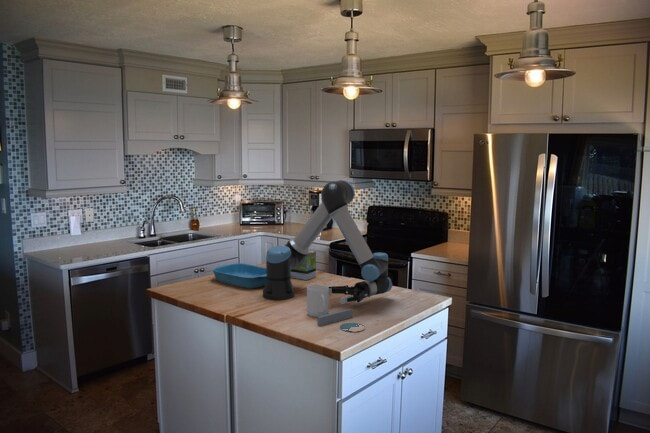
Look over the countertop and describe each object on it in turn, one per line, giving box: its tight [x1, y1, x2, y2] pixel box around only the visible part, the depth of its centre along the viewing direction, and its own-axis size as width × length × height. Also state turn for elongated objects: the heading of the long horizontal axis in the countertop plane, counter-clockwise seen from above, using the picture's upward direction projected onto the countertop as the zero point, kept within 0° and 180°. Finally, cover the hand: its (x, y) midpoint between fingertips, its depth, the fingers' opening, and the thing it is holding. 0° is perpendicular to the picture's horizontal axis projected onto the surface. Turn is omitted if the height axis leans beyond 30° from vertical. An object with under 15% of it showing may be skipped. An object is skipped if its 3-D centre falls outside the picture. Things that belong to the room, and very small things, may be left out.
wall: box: [316, 308, 354, 327], centre depth 216 cm, size 18×2×4 cm, turn 130°
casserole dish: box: [212, 262, 266, 289], centre depth 275 cm, size 37×22×7 cm, turn 52°
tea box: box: [291, 250, 317, 281], centre depth 287 cm, size 15×10×15 cm, turn 58°
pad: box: [339, 322, 366, 332], centre depth 208 cm, size 10×10×1 cm
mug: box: [306, 284, 330, 318], centre depth 223 cm, size 10×12×12 cm
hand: (330, 297), depth 226 cm, fingers open, 13 cm apart
